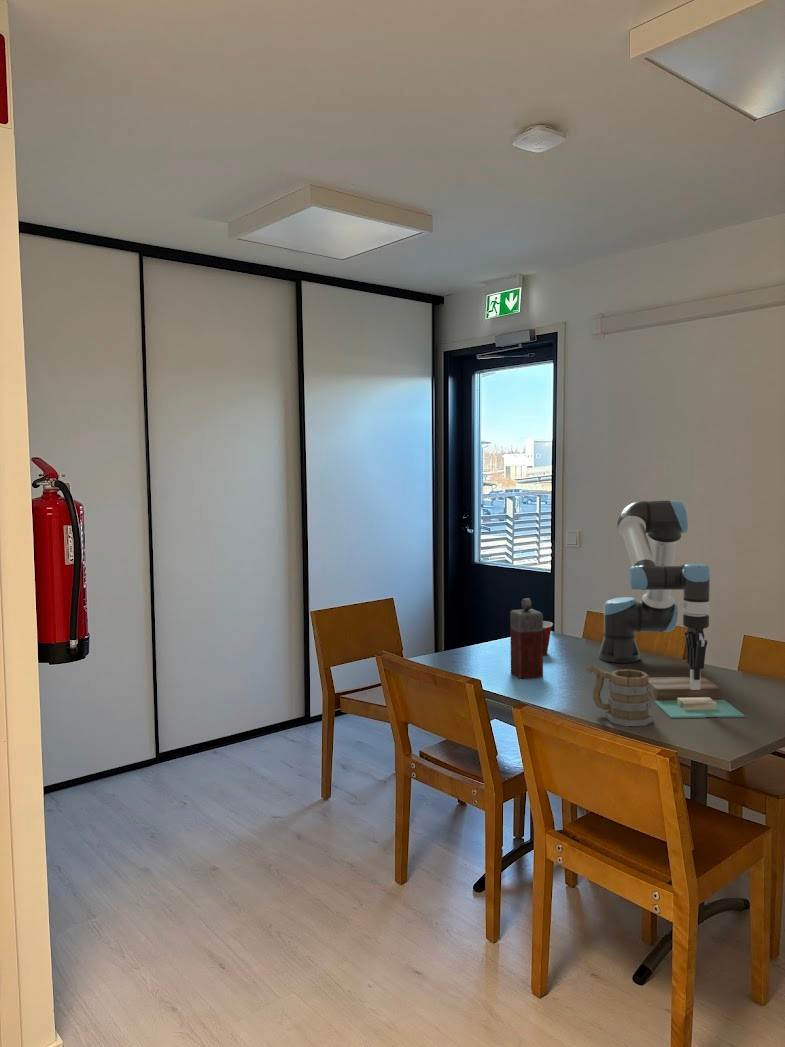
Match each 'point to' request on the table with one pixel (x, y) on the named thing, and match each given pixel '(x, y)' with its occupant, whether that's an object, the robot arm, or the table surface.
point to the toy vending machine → (527, 642)
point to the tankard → (624, 696)
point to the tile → (697, 703)
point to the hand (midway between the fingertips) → (695, 688)
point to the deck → (681, 688)
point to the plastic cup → (547, 630)
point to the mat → (677, 712)
